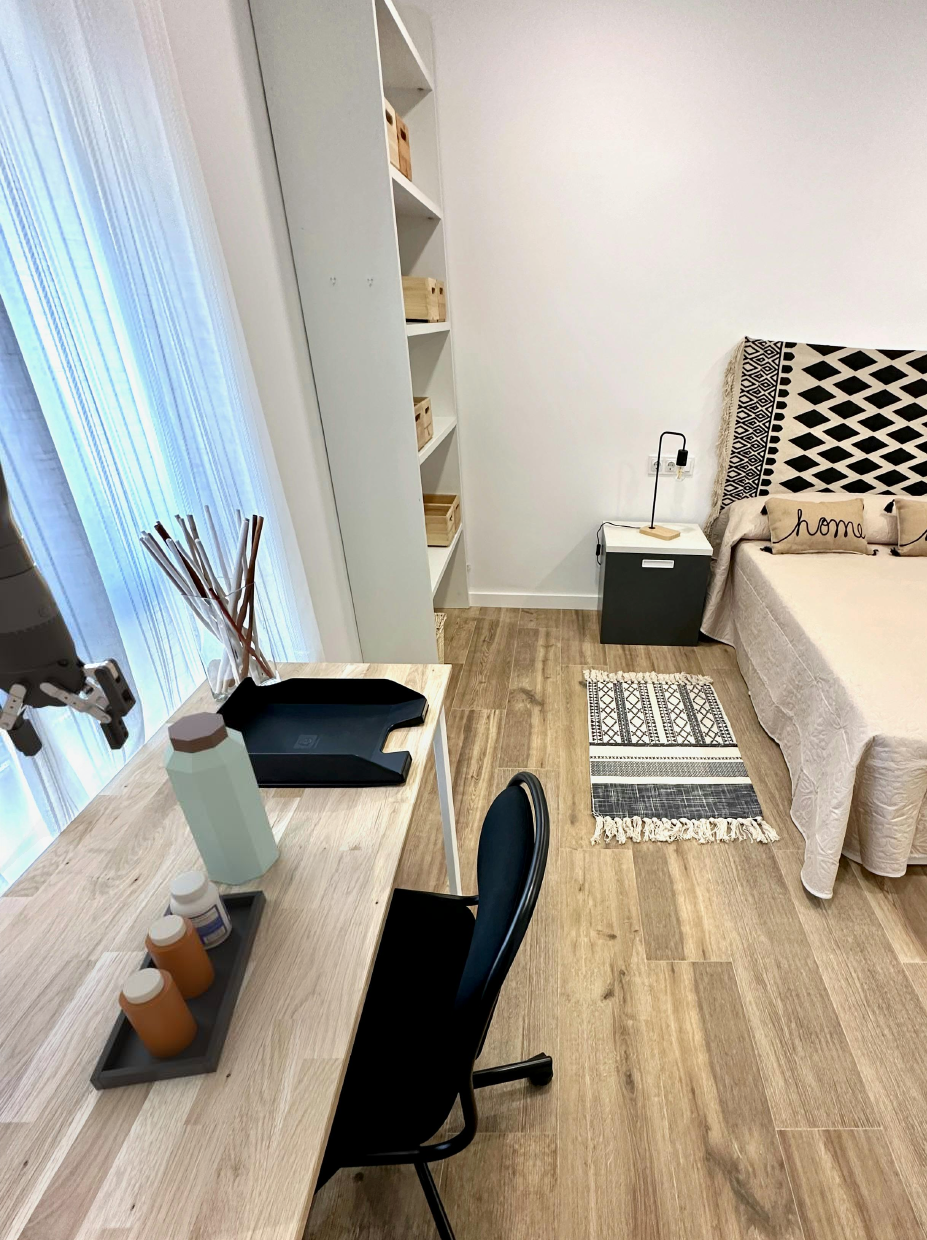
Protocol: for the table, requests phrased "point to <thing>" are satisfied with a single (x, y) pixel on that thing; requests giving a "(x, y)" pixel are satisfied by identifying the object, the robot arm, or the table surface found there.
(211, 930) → the pill bottle
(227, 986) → the tray
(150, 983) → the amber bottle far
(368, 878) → the table surface
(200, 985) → the amber bottle mid
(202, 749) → the water bottle
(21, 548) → the robot arm
